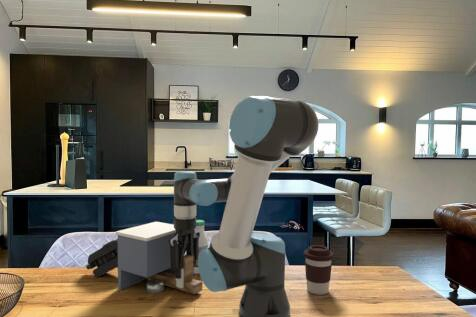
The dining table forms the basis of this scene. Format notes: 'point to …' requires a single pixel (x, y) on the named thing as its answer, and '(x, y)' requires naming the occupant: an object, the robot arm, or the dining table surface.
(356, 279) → the dining table surface
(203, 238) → the milk bottle
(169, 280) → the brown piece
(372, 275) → the dining table surface
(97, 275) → the tool
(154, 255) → the cabinet
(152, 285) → the puck
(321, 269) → the coffee cup
